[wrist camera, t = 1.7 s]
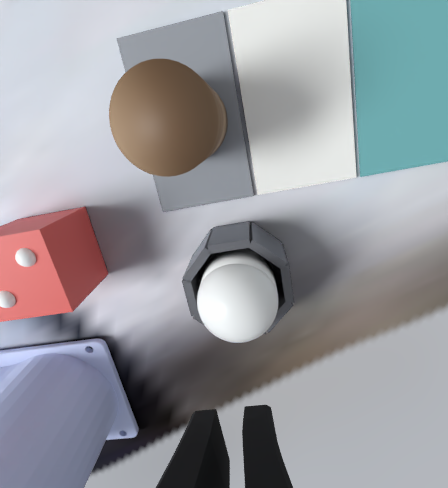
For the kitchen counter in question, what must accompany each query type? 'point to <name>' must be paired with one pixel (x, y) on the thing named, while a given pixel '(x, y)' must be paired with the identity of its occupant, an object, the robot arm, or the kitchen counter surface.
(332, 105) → the game track
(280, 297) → the dome housing
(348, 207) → the kitchen counter surface
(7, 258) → the red die
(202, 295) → the dome cap
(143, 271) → the kitchen counter surface
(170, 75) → the walnut pawn
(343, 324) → the kitchen counter surface
